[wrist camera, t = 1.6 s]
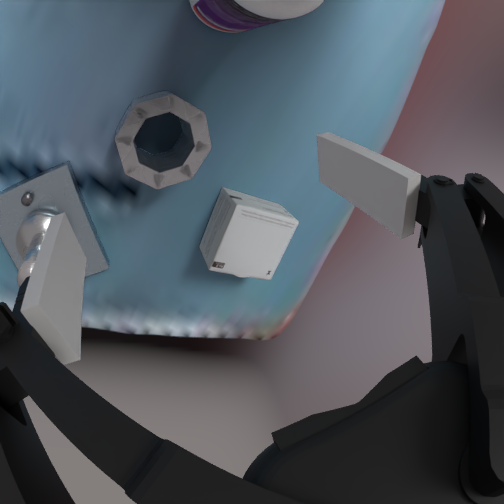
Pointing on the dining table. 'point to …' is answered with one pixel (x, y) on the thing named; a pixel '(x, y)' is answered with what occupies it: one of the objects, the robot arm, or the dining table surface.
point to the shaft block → (46, 218)
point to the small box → (246, 235)
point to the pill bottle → (249, 12)
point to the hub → (168, 162)
